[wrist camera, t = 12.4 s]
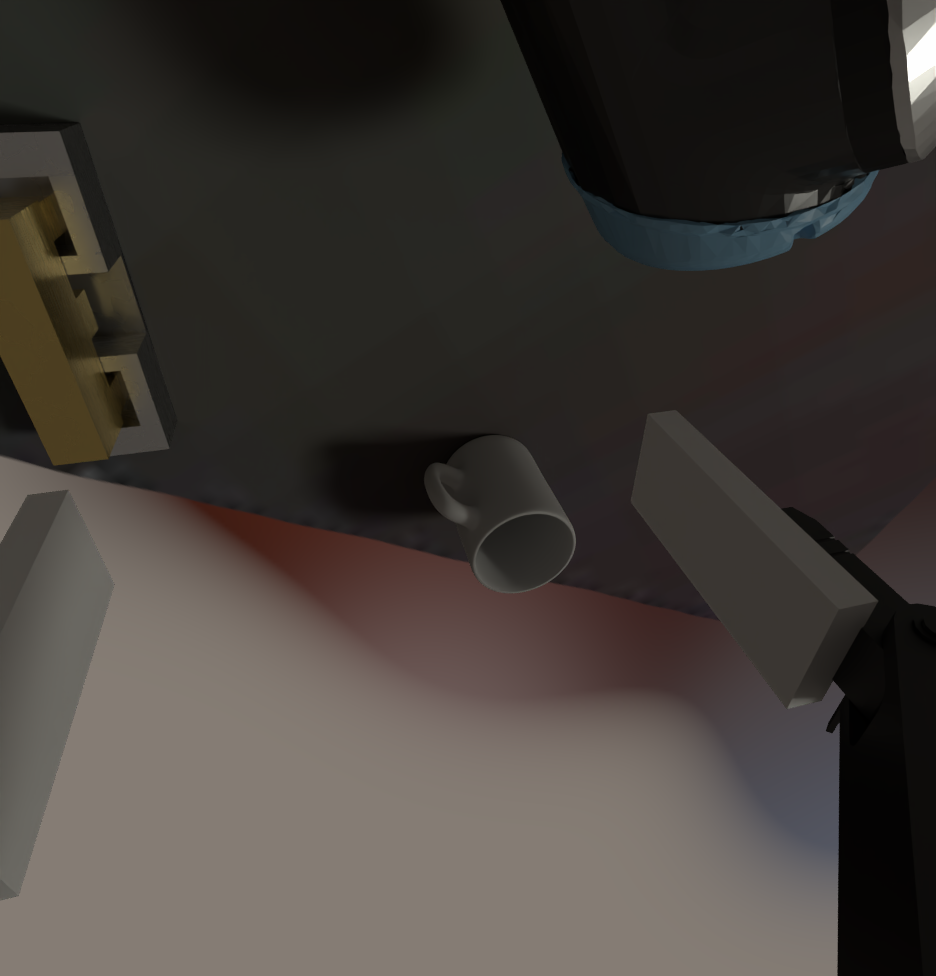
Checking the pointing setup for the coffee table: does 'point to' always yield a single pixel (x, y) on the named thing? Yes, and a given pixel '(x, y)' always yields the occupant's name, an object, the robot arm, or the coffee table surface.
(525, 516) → the mug
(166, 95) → the coffee table surface
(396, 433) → the coffee table surface
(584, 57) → the robot arm
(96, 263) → the bracket
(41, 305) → the yellow rectangular block
